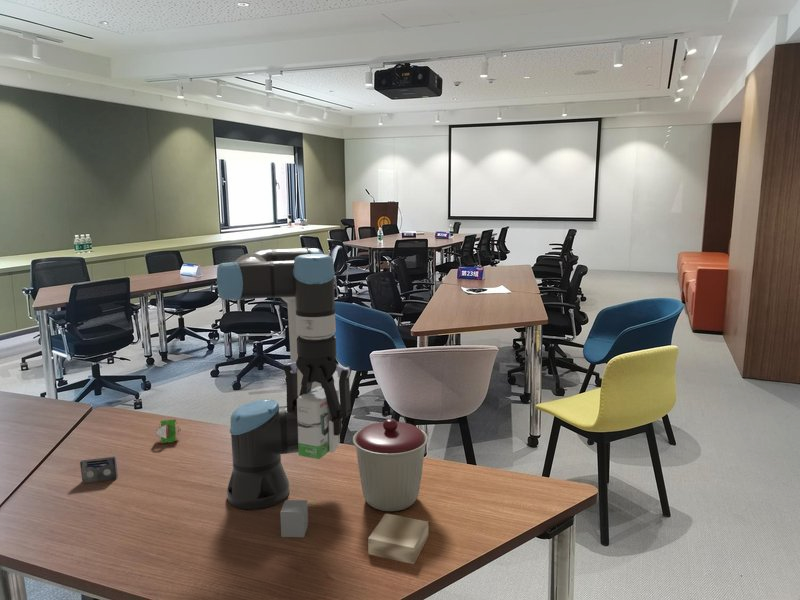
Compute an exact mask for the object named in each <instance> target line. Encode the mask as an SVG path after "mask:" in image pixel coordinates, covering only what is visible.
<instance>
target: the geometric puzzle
mask: <svg viewBox="0 0 800 600" xmlns="http://www.w3.org/2000/svg"><path fill="white" fill-rule="evenodd" d="M159 423H160V425H158V427H159V428H158V429H156V431H155V435H156V436H158V437H159V438H160V439H159V441H160V443H161V444H167V442H168V443H173V442H172V441H176V442H177V437H178V436H179V435H178V434H179V433H180V429H181V428H180V426H179V424H178V422H177V420H176V419H167V420H160V422H159ZM176 436H177V437H176Z"/></svg>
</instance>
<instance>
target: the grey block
mask: <svg viewBox="0 0 800 600" xmlns="http://www.w3.org/2000/svg"><path fill="white" fill-rule="evenodd" d="M308 507H309V505H308V500H306V499H305V500H303V499H300V500H299V499H297V500H296V499H294V500H293V499H286V500H285V499H284V503H283V505H282V508H281V510H280V514H279V515H280V533H281V534H280V535H281V538H305V535H306V532H307V529H308V526H309V511H308V510H309V508H308Z"/></svg>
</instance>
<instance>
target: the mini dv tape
mask: <svg viewBox="0 0 800 600" xmlns="http://www.w3.org/2000/svg"><path fill="white" fill-rule="evenodd" d="M79 466H80V473H81V474H80V475H81V480H82V481H81V483H82V484H85V483H94V482H95V483H97V482H103V481H111V480H113V481H114V480H118V475H119V474H118V463H117V457H116V456H109V457H98V458H92V459H91V458H90V459H82V460H81V459H80V462H79Z"/></svg>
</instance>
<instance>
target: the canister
mask: <svg viewBox="0 0 800 600" xmlns="http://www.w3.org/2000/svg"><path fill="white" fill-rule="evenodd" d="M428 442H429V436H428V434H427V433H426V432H425V431H424V430H422V429H421V428H419V427H417V426H415V425H414V424H411V423H408V422H402V421H397V420H396V419H395V418H387V419H385V420H384V421H381V422H375V423H372V424H369V425H367V426H364V427H363V428H361V429H359V430H358V431H357V432H355V434H353V436H352V443H353V446H354V447H355V449H356V457H357V463H358V464H357V465H358V471H359V478H360V483H361V491H362V494H363V498H364V500H365V501H366V503H367V504H368V505H369V506H371V507H372V508H373V509H376V510H379V511H382V512H398V511H402V510H405V509H408V508H410V507H411V506H412V505H413V504H414V503H415V502H416V501H417V499H418V497H419V494H420V488H421V481H422V475H423V465H424V458H425V448H426V445H427V444H428Z"/></svg>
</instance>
